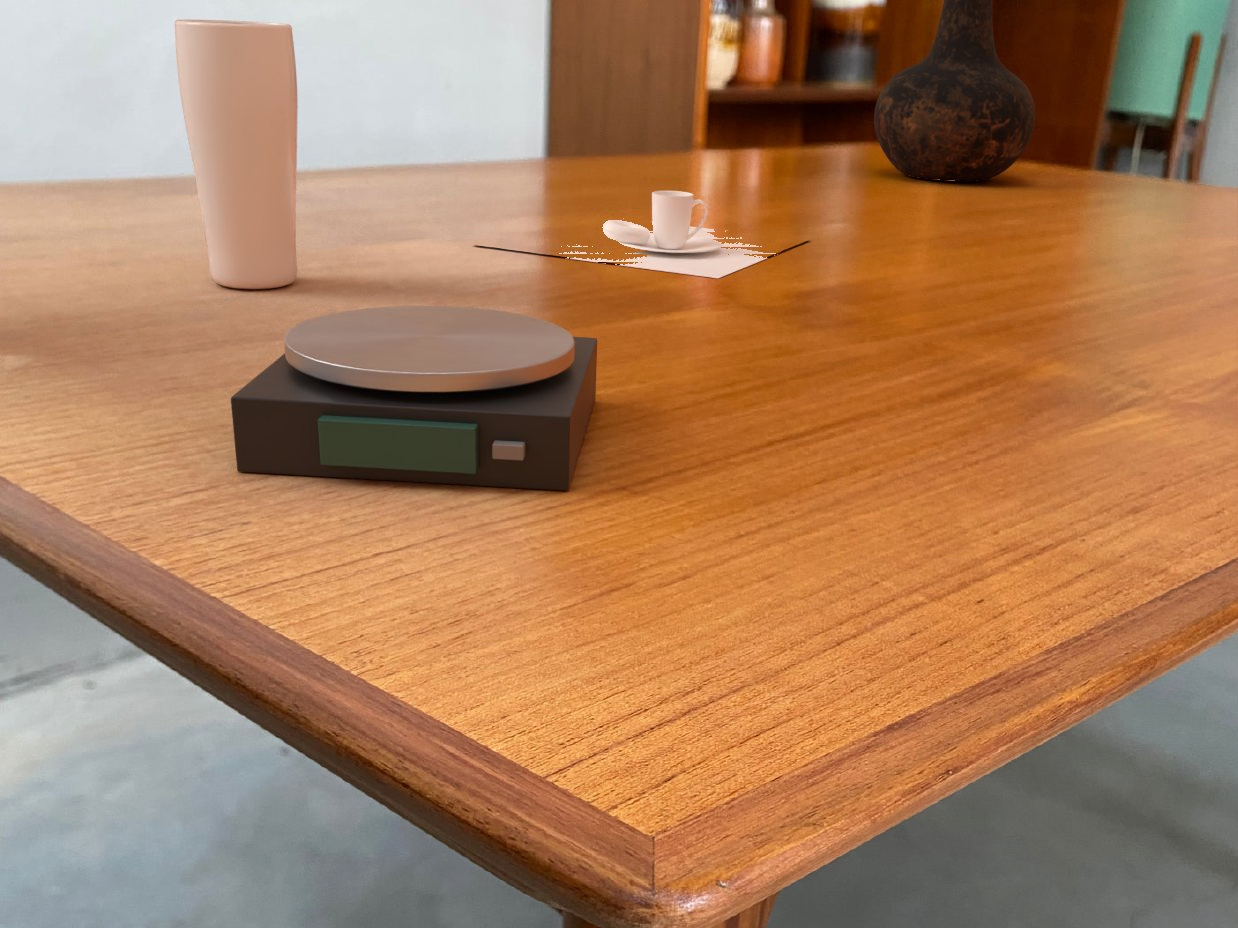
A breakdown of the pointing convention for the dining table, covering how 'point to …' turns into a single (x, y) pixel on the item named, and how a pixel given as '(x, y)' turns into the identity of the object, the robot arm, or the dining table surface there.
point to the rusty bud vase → (956, 104)
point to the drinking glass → (242, 145)
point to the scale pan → (429, 349)
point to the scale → (417, 429)
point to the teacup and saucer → (677, 241)
